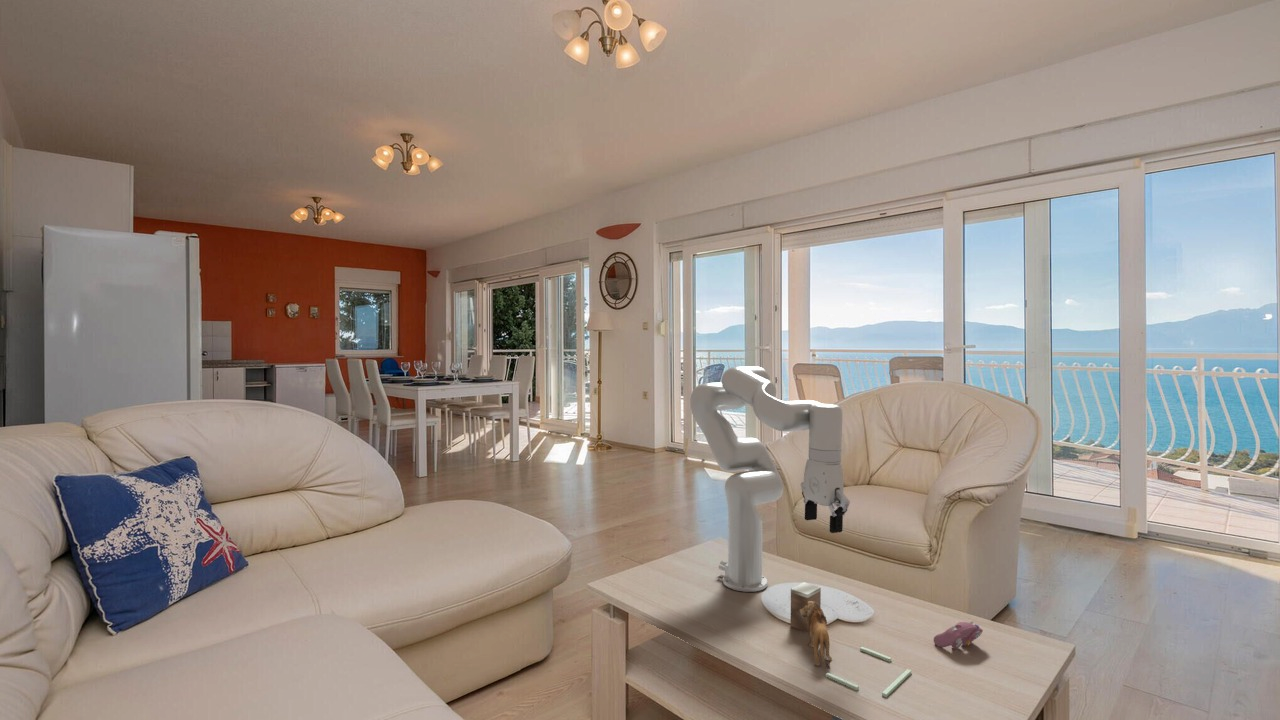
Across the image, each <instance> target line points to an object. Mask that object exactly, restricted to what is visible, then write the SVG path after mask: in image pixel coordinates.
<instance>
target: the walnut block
mask: <svg viewBox="0 0 1280 720" xmlns="http://www.w3.org/2000/svg"><path fill="white" fill-rule="evenodd" d="M821 588H822V587H820V586H818V585H816V584H815V585H814V584H812V583H808V582H805V581H803V582H801V583H799V584H797V585H796V586H793V587H792V588H791V589H790V627H792V628H794V629H796V630H799V631H802V632H805V633H810V628H809V625H808V622H807V618H803V617H802V615H801V613H800V609H802V608H804V607H805V606H806V605H807V602H808V601H813V602H816V603H817V604H818V605H819V606H820V607H821V602H822V601H821V600H822V598H821V597H822V596H821V595H822V594H821ZM821 608H822V607H821Z"/></svg>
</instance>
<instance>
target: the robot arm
mask: <svg viewBox="0 0 1280 720" xmlns="http://www.w3.org/2000/svg"><path fill="white" fill-rule="evenodd" d="M776 397H777V387H776V385H775V384H774V382H772V380H771V377H770V375H769V373H768V371H766V370H765V368H763V367H761V366H756V365H752V366H745V365H743V366H733V367H730V368H728V369H726V370H725V371H724V372H723V374H722V376H721V379H720V381H719V382H717V381H716V382H706V383H702V384H699V385H697V386H695V387H694V388H693V390H692V392H691V393H690V399H689V400H690V401H689V402H690V404H689V405H690V410H691V414H692V417H693V418H694V421H695V422H696V424H697V426H698V427H699V429H700V430H701V432H702V433H703V435H704V437H705V439H706V442H707V444H708V446H709V449H710V451H711V453H712V455H713V457H714V460H715V461H716V464H717V465H718V467H719V468H720V470H721V471H723V472H726V473H733V472H736V473H734V474H731V475H730V476H729V477H728V478H727V479H726V480H725V484H724V496H725V500H726V506H727V521H728V522H727V530H728V531H727V535H728V537H727V543H728V544H727V548H728V549H727V551H728V553H727V560H723V559H722V560H721V561H720V562H719V564H718V567H717V568H718V569H719V570H720V571H724V575H723V576H722V584H723V585H724V586H725V587H727V588H728V589H730V590H734V591H737V592H744V593H745V592H746V593H751V592H752V593H754V592H759V591H762V590H765V589H766V588H767V587H768V585H769V580H768V578H766V577H765V576H764V575H763V519H762V517H761V515H760V513H759V511H758V509H757V506H759V505H762V504H768V503H773V502H776V501H778V500H779V499H780V498H781V497H782V496H783V492H784V483H783V480H782V478H781V474H780V473H779V471H778V469H777V466H776V464H775V463H774V461H773V459H772V457H771V455H770V453H769V450H767V447H766V446H765V445H764V443H763V442H762V441H760V439H758V438H756V437H750V436H748V437H739V436H738V435H737V434H736V433H735V431H734V428H733V426H732V424H731V423H730V422H729V421H728V420H727V418H725V416H723V415H722V414H720V413H719V412H718V411H725V410H727V411H728V410H737V409H738V410H739V409H742V408H744V407H746V406H748V405H749V406H750V407H752V410H753V413H754V415H755V416H756V418H757V419H758V420H759V421H760V422H761V423H763V424H765V425H766V426H768V427H770V428H772V429H774V430H776V431H779V432H784V433H788V432H797V431H808V457H807V458H806V462H805V468H804V472H803V474H804V475H803V481H802V482H801V483H800V487H801V488H800V489H801V491H802V492H801V495H802V497H803V503H804V521H815V520H817V519H818V517H817V516H818V505H821V506H822V507H828V509H829V512H830V513H831V514H830V515H829V533H831V534H836V533H837V534H838V533H842V532H843V526H844V525H843V518H844V516H845V515H846V513H847V511H848V509H849V507H850V503H851V501H850V499H849V498H848V497H847V496H846V495H845V493H844V490H845V489H844V488H845V487H844V474H843V473H844V472H843V466H842V465H843V464H842V447H843V446H842V445H843V444H842V443H843V439H842V437H843V409H842V407H841V406H840V405H837V404H832V403H821V402H819V401H816V400H811V399H804V400H803V399H802V400H801V399H799V400H797V399H796V400H781V399H777V398H776ZM835 507H836V508H835Z"/></svg>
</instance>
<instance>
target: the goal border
mask: <svg viewBox="0 0 1280 720" xmlns="http://www.w3.org/2000/svg"><path fill="white" fill-rule="evenodd" d="M859 651H860V652H863V653H865V654H867V655H871V656H874V657H875V658H878V659H881V660H884V661H886V662H890V663H891V661H892V657H890V656H887V655H886V654H883V653H880V652H877V651H875V650H873V649H870V648H867V647H863V646H860V648H859ZM911 674H912V669H909V668H906V670H905V671H903V672H902V673H901V674H900V675H899V676H898V677H896V679H895V680H894V681H892V683H891V684H890V685H888V687H886V688H885V689H884V690H883V691H882V692H881V696H882V697H884V698H888V696H889V695H891V694H892V692H893V691H895V690H896V689H897V688H898V687H899V686H900V685H901V684H902V683H903V682H904V681H905V680H906V679H907V678H908V677H910V676H911ZM825 677H826V678H827V677H829V678H828V679H830V678H831V679H830V680H832V679H833V680H832V681H834V680H835V681H834V682H836V681H837V683H839V684H841V685H843V686H845V685H846V687H848V688H850V689H852V688H853V689H852V690H854V691H859V689H860V686H859V685H857V684H856V683H854V682H850V681H848V680H846V679H845V678H842V677H839V676H837V675H835V674H833V673H830V672H827V673H825Z"/></svg>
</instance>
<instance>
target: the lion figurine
mask: <svg viewBox="0 0 1280 720" xmlns="http://www.w3.org/2000/svg"><path fill="white" fill-rule="evenodd" d="M800 613H801V615H802V617H803V618H807V622H808V625H809V628H810V631H809V637H810V642H808V646H809V647H811V648H813V651H814V662H813V664H814V666H818V667H819V666H820V665H821V664H820V656H819V647H820V655H821V659H822V661H823V664H824V665H825V668H826V669H828V670H830V669H831V667H830V665H829V663H828V662H829V661H831V662H832V659H833V658H832V657H831V656H830V644H831V643H830V637H829V633H828V628H827V625H828V621H827V617H826V615H825V614H824V611H823V609H822V607H820V606H819V605H818V604H817V603H816V602H813V601H808V602H807V605H806V606H805V607H804V608H802V609H800ZM824 649H825V653H824ZM825 656H826V657H825ZM827 661H828V662H827Z"/></svg>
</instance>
